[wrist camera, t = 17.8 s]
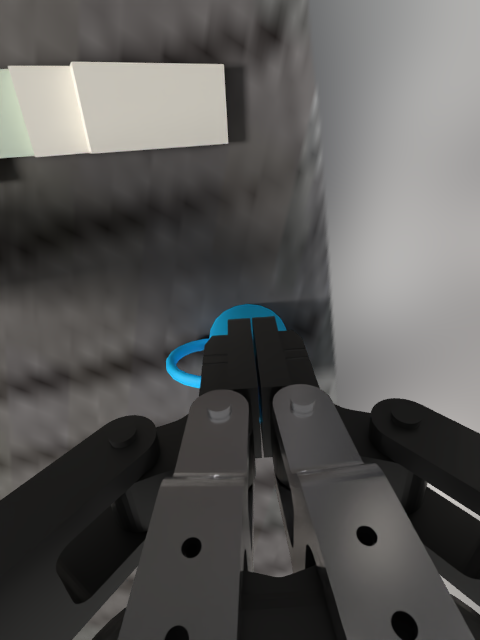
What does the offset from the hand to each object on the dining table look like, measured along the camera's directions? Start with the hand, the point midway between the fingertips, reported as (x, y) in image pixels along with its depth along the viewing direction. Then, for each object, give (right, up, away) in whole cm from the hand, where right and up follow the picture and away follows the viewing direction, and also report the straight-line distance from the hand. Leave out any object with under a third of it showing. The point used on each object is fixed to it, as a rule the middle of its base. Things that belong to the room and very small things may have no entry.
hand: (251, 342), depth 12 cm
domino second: (-6, +17, +15) cm, 23 cm away
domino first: (-2, +17, +15) cm, 23 cm away
